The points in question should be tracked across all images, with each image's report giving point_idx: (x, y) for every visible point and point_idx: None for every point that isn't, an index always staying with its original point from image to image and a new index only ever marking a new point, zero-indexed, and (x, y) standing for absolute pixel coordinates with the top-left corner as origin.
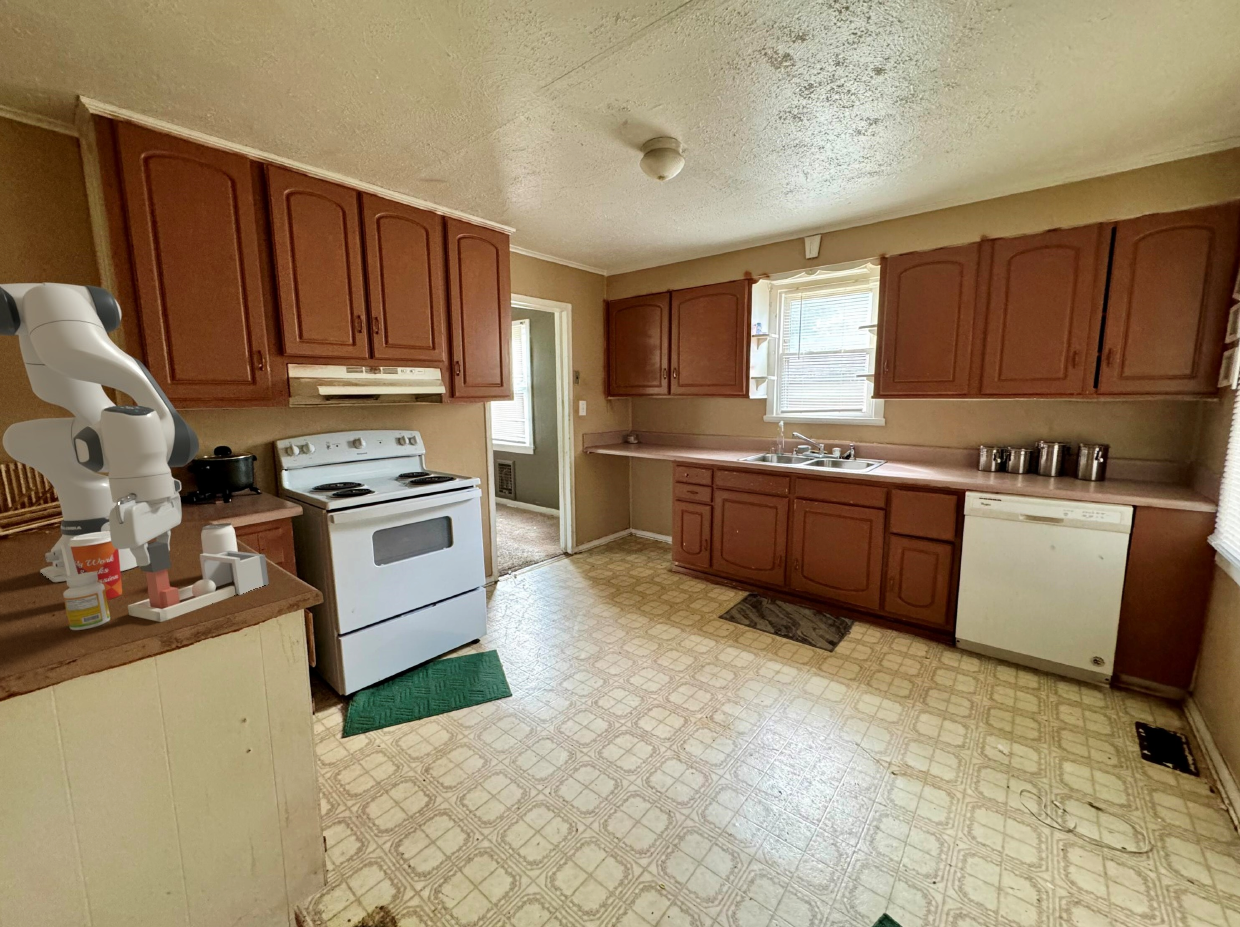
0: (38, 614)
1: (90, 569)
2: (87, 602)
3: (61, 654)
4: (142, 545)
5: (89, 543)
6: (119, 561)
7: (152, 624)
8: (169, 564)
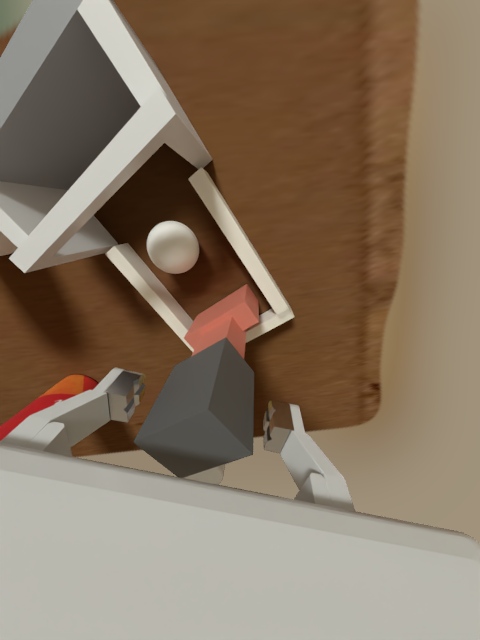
0: (128, 435)
1: None
2: None
3: (330, 399)
4: (349, 502)
5: None
6: (12, 421)
7: (292, 319)
8: (227, 346)
